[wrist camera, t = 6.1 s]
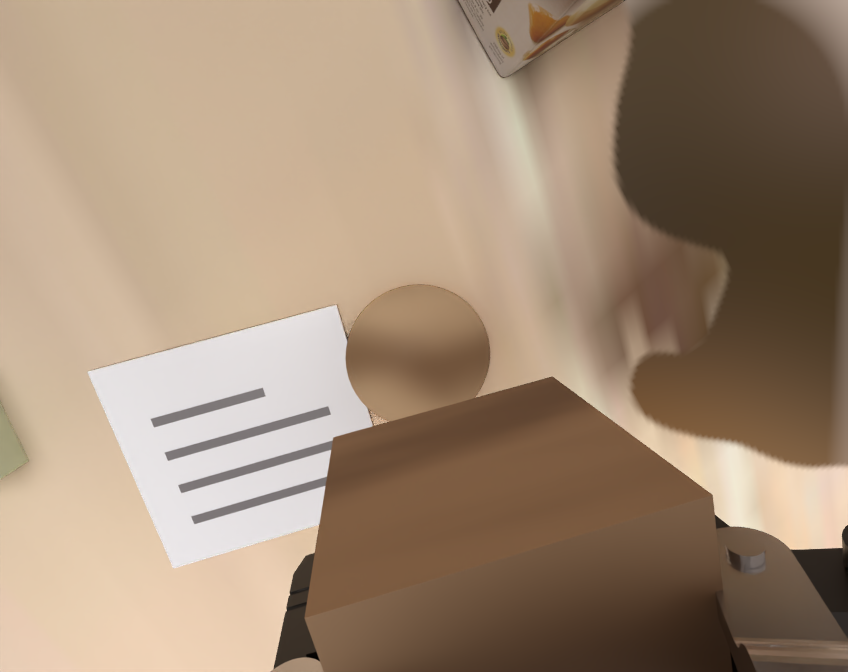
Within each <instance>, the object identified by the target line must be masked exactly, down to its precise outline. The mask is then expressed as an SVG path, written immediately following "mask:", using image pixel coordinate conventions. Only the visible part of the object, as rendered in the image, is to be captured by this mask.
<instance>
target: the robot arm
mask: <svg viewBox="0 0 848 672" xmlns="http://www.w3.org/2000/svg"><path fill="white" fill-rule="evenodd" d="M715 522H716V531H717V539H718V548H719V557H720V566H721V575H722V584H723V590H720V591H717V592H715V595H716V604H717V612H718V619H719V622H720V624H721V627H722V630H723V632H724V635H725V638H726V640H727V643H728V646H729V649H730V654H731V663H732V672H848V525H847V526H846V527H845V528H844V530H843V533H842V546H843V548H831V549H808V550H790V549H789V548H788V547H787V546H786V545H785V544H784V543H783V542H781V541H780V540H778V539H777V538H775V537H773V536H771V535H769V534H767V533H764V532H762V531H758V530H755V529H750V528H744V527H730V526H728V525H727V524H726V523H725V522H723V521H722V520H721V519H720V518H718V517H717V516H716V515H715ZM314 555H315V553H313V554H310V555H307V556H305V558H304V559H303V561H302V562H301V564H300V565H299V567H298V568H297V570H296V571H295V573H294V575H293V579H292V584H291V589H290V596H289V598H288V603H287V612H285V617H284V622H283V627H282V631H281V636H280V641H279V646H278V650H277V655H276V660H275V664H274V669H273V670H272V671H271V672H324V671H323V668H322V665H321V663H320V660H319V657H318V654H317V652H316V649H315V646H314V643H313V640H312V638H311V635H310V632H309V629H308V627H307V624H306V621H305V612H306V605H307V599H308V593H309V587H310V580H311V574H312V568H313V561H314Z"/></svg>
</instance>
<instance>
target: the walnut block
mask: <svg viewBox="0 0 848 672" xmlns="http://www.w3.org/2000/svg"><path fill="white" fill-rule="evenodd" d="M720 590H723V584H722V575H721V566H720V557H719V548H718V539H717V531H716V522H715V513H714V504H713V495H712V494H711V493H709V492H708V491H706V490H705V489H704V488H702V487H701V486H700V485H698V484H697V483H696V482H694V481H693V480H692V479H690V478H689V477H688V476H686V475H685V474H683V473H682V472H681V471H679V470H678V469H677V468H675V467H674V466H673V465H671V464H670V463H669V462H667V461H666V460H665V459H663V458H662V457H660V456H659V455H658V454H656V453H655V452H654V451H652V450H651V449H650V448H648V447H647V446H646V445H644V444H643V443H642V442H640V441H639V440H638V439H636V438H635V437H633V436H632V435H631V434H629V433H628V432H627V431H625V430H624V429H623V428H621V427H620V426H619V425H617V424H616V423H615V422H613V421H612V420H610V419H609V418H608V417H606V416H605V415H604V414H602V413H601V412H600V411H598V410H597V409H596V408H594V407H593V406H592V405H590V404H589V403H587V402H586V401H585V400H583V399H582V398H581V397H579V396H578V395H577V394H575V393H574V392H573V391H571V390H570V389H569V388H567V387H566V386H564V385H563V384H562V383H560V382H559V381H558V380H556V379H555V378H554V377H549V378H545V379H542V380H538V381H535V382H531V383H527V384H524V385H520V386H517V387H513V388H509V389H506V390H502V391H499V392H495V393H491V394H488V395H484V396H480V397H477V398H473V399H470V400H466V401H462V402H459V403H455V404H452V405H448V406H444V407H441V408H437V409H434V410H430V411H426V412H423V413H419V414H416V415H412V416H408V417H405V418H401V419H398V420H394V421H390V422H387V423H383V424H379V425H376V426H372V427H369V428H365V429H361V430H358V431H354V432H351V433H347V434H343V435H340V436H336V437H333V442H332V448H331V455H330V461H329V467H328V473H327V480H326V486H325V492H324V499H323V505H322V511H321V517H320V524H319V530H318V536H317V543H316V549H315V555H314V561H313V568H312V574H311V580H310V587H309V593H308V599H307V605H306V612H305V621H306V624H307V627H308V629H309V632H310V635H311V638H312V640H313V643H314V646H315V649H316V652H317V654H318V657H319V660H320V663H321V665H322V668H323V671H324V672H732V663H731V654H730V649H729V646H728V643H727V640H726V638H725V635H724V632H723V630H722V627H721V624H720V622H719V619H718V612H717V604H716V595H715V592H717V591H720Z"/></svg>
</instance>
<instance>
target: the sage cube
mask: <svg viewBox="0 0 848 672" xmlns="http://www.w3.org/2000/svg"><path fill="white" fill-rule="evenodd" d="M28 461H29V460H28V458H27V455H26V453H25V451H24V449H23V447H22V445H21V443H20V441H19V439H18V437H17V435H16V433H15V431H14V429H13V427H12V425H11V423H10V421H9V418H8V416H7V414H6V412H5V410H4V408H3V406H2V404H1V402H0V480H1V479H2V478H4V477H5V476H7V475H8V474H10V473H11V472H13V471H14V470H16V469H17V468H19V467H20V466H22V465H23V464H25V463H26V462H28Z"/></svg>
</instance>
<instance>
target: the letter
mask: <svg viewBox="0 0 848 672" xmlns="http://www.w3.org/2000/svg"><path fill="white" fill-rule="evenodd" d="M346 347H347V337H346V334H345V331H344V327H343V324H342V321H341V317H340V314H339V311H338V307H337V304H336V305H332V306H328V307H325V308H321V309H317V310H313V311H310V312H306V313H302V314H299V315H295V316H291V317H287V318H284V319H280V320H276V321H273V322H269V323H265V324H261V325H258V326H254V327H250V328H247V329H243V330H239V331H235V332H232V333H228V334H224V335H221V336H217V337H213V338H209V339H206V340H202V341H198V342H195V343H191V344H187V345H183V346H180V347H176V348H172V349H169V350H165V351H161V352H157V353H154V354H150V355H146V356H143V357H139V358H135V359H131V360H128V361H124V362H120V363H117V364H113V365H109V366H105V367H102V368H98V369H94V370H91V371H89V372H88V375H89V377H90V379H91V381H92V384H93V386H94V388H95V391H96V393H97V395H98V397H99V400H100V402H101V404H102V407H103V409H104V411H105V413H106V416H107V418H108V420H109V423H110V425H111V427H112V429H113V432H114V434H115V436H116V438H117V441H118V443H119V445H120V448H121V450H122V452H123V454H124V457H125V459H126V461H127V464H128V466H129V468H130V470H131V473H132V475H133V477H134V480H135V482H136V484H137V486H138V489H139V491H140V493H141V496H142V498H143V500H144V502H145V505H146V507H147V509H148V512H149V514H150V516H151V518H152V521H153V523H154V525H155V527H156V530H157V532H158V534H159V537H160V539H161V541H162V543H163V546H164V548H165V550H166V553H167V555H168V557H169V559H170V562H171V564H172V566H173V568H177V567H180V566H183V565H187V564H190V563H193V562H197V561H200V560H203V559H207V558H210V557H213V556H217V555H220V554H223V553H227V552H230V551H233V550H237V549H240V548H243V547H247V546H250V545H253V544H257V543H260V542H263V541H267V540H270V539H273V538H277V537H280V536H283V535H287V534H290V533H293V532H297V531H300V530H303V529H307V528H310V527H313V526H317V525H319V524H320V517H321V511H322V505H323V499H324V492H325V486H326V480H327V473H328V467H329V461H330V455H331V448H332V442H333V437H336V436H340V435H343V434H347V433H351V432H354V431H358V430H361V429H365V428H369V427H372V426H373V424H372V421H371V417H370V414H369V411H368V408H367V407H366V406H365V405H364V404H363V403H362V402H361V400H360V399H359V398H358V396H357V395H356V393H355V391H354V390H353V388H352V386H351V383H350V380H349V378H348V374H347V369H346V360H345V358H346ZM347 349H348V348H347ZM351 369H352V368H351ZM350 378H351V377H350Z"/></svg>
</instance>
